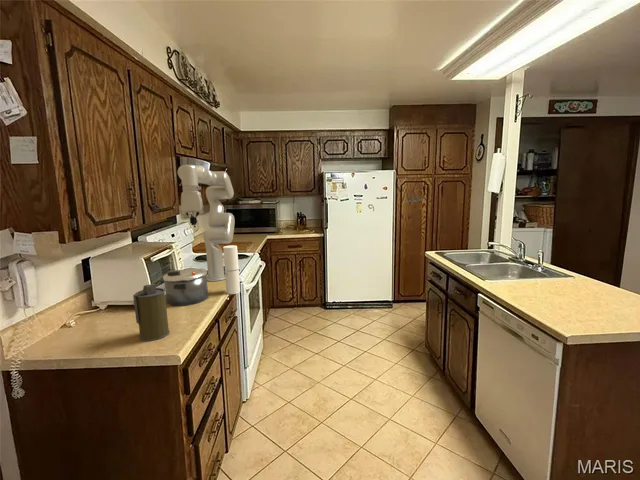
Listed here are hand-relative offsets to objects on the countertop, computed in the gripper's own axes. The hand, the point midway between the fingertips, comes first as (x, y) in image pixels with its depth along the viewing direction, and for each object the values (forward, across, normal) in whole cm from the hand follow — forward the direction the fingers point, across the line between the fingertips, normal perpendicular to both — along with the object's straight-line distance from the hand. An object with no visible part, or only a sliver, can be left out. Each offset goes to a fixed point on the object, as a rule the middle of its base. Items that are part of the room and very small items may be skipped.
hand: (193, 224), depth 174 cm
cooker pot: (+37, +4, +9) cm, 38 cm away
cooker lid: (+25, +4, +9) cm, 27 cm away
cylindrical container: (+37, -18, +2) cm, 41 cm away
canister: (+37, +6, +51) cm, 63 cm away
